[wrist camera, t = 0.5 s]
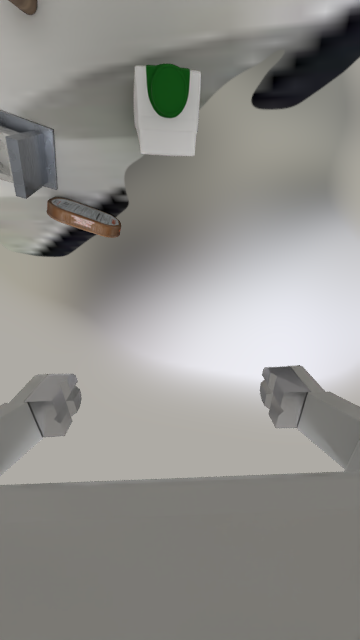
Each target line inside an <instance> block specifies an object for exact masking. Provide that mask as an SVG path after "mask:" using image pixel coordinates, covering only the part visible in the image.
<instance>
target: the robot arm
mask: <svg viewBox="0 0 360 640" xmlns="http://www.w3.org/2000/svg"><path fill="white" fill-rule="evenodd" d="M262 376H263V377H264V379H265V380H264V381H263V382H262V383H261V386H260V394H261V399H262V401H263V403H264V405H265V406H266V407H267V408H269V409H270V410H269V416H270V418H271V419H272V422H273V424H274V426H275V428H297V429H298V430H299V431H300V432H301V433H303V434H304V435H305V436H306V437H308V438H309V439H310V440H311V441H312V442H313V443H314V444H316V445H317V446H318V447H319V448H320V449H322V450H323V451H324V452H325V453H326V454H327V455H329V456H330V457H331V458H332V459H333V460H335V461H336V462H337V463H338V464H339V465H340V466H342V467H343V468H344V469H345V471H344V472H322V473H297V474H273V475H247V476H223V477H199V478H175V479H146V480H122V481H94V482H68V483H43V484H20V485H0V640H360V407H359V406H357V405H355V404H353V403H351V402H349V401H347V400H345V399H343V398H341V397H339V396H337V395H335V394H333V393H331V392H325V391H324V390H323V389H322V388H321V386H320V385H319V384H318V383H317V382H316V381H315V380H314V379H313V377H312V376H310V374H309V373H308V372H307V371H306V370H305V369H304V368H303V367H302V366H300V365H298V366H288V367H265V368H264V369H263V374H262ZM76 383H77V378H76V375H74V374H38V375H35V376H34V377H33V378H32V379H31V380H30V381H29V382H28V383H27V384H26V385H25V387H24V388H23V389H22V390H21V391H20V392H19V393H18V394H17V395H16V396H15V397H14V398H13V399H12V400H11V401H10V402H9V403H4V404H2V405H1V406H0V476H1V475H2V474H3V473H4V472H5V471H6V470H7V469H9V468H10V467H11V466H12V465H13V464H14V463H16V462H17V461H18V460H19V459H20V458H21V457H22V456H23V455H24V454H26V453H27V452H28V451H29V450H30V449H31V448H32V447H34V446H35V445H36V444H37V443H38V442H39V441H40V440H41V439H42V437H55V436H65V434H66V432H67V430H68V429H69V427H70V425H71V423H72V419H71V416H73V415H74V414H75V413H77V411H78V409H79V407H80V404H81V392H80V389H78V388H77V387H76V386H75V385H76Z"/></svg>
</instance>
